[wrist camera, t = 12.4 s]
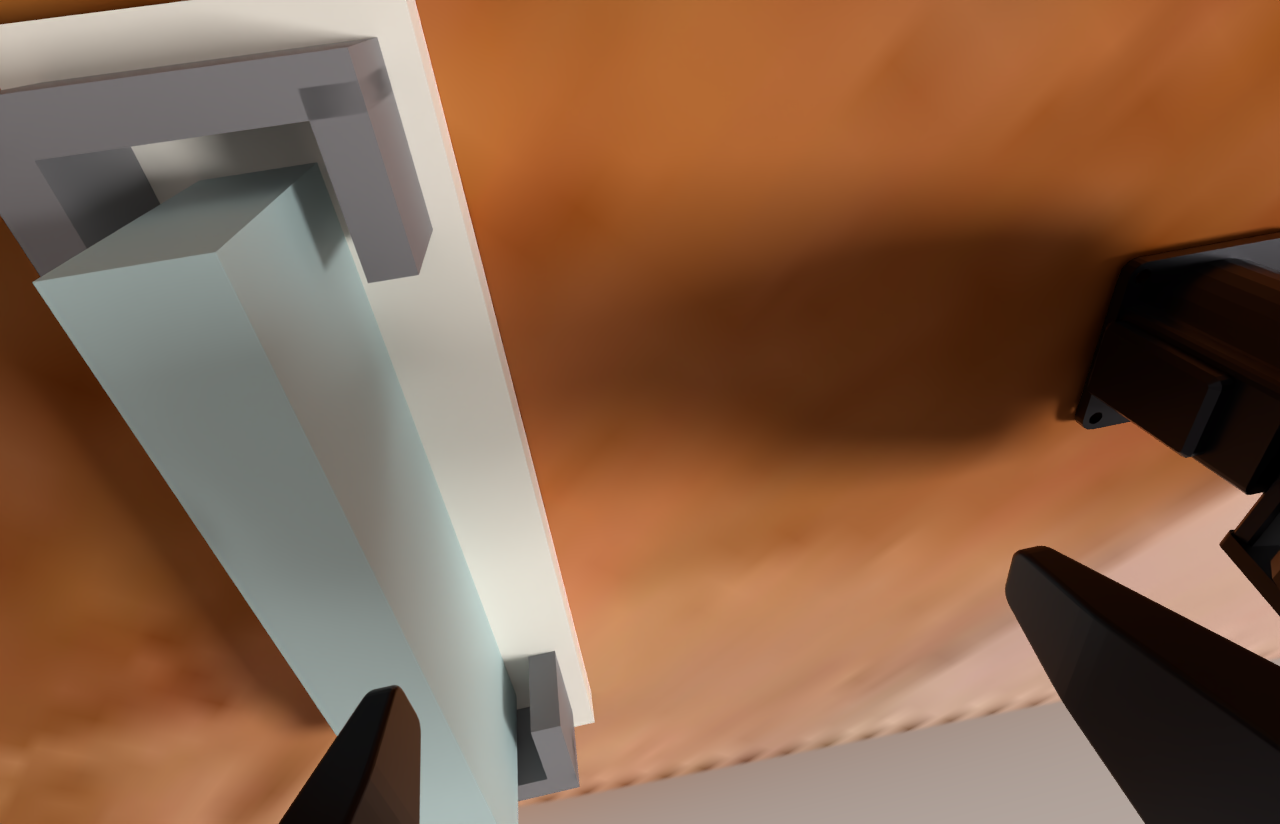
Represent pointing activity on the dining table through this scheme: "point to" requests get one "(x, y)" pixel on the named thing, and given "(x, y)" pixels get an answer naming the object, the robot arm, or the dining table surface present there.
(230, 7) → the endcap stand
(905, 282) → the dining table surface
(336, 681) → the slat
